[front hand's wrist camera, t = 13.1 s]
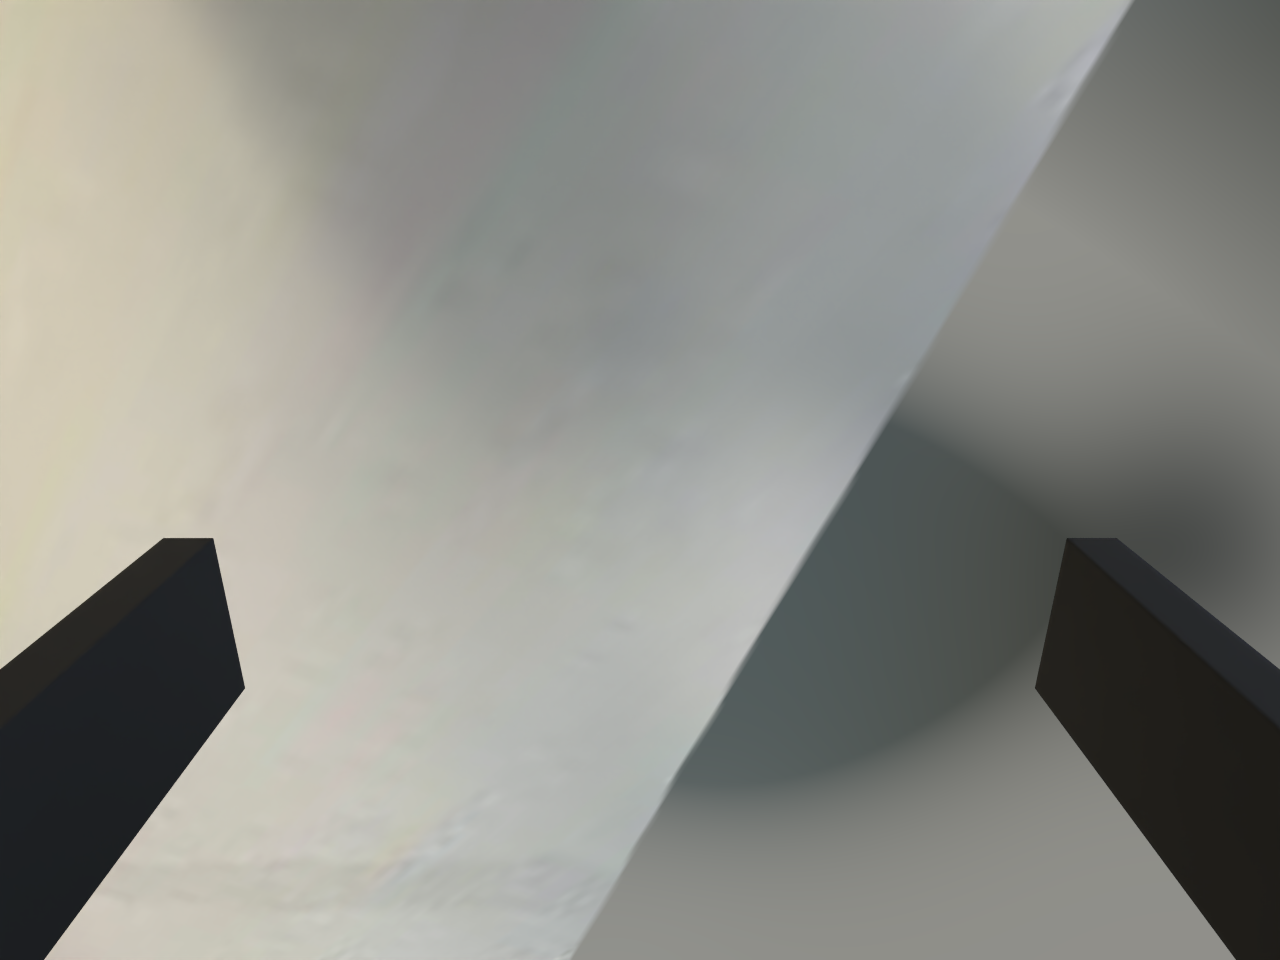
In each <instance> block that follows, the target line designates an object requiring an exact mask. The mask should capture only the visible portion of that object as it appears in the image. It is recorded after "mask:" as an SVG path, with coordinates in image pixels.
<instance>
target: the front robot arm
mask: <svg viewBox="0 0 1280 960" xmlns="http://www.w3.org/2000/svg"><path fill="white" fill-rule="evenodd" d="M244 689H245V686H244V681H243V676H242V672H241V667H240V662H239V657H238V653H237V648H236V643H235V639H234V634H233V629H232V624H231V620H230V615H229V610H228V606H227V601H226V596H225V591H224V587H223V582H222V577H221V573H220V568H219V563H218V558H217V554H216V549H215V544H214V540H213V538H163V539H162V540H161V541H159V542H158V543H157V544H156V545H154V546H153V547H152V548H151V549H149V550H148V551H147V552H146V553H144V554H143V555H142V556H141V557H139V558H138V559H137V560H136V561H134V562H133V563H132V564H131V565H129V566H128V567H127V568H126V569H125V570H123V571H122V572H121V573H120V574H118V575H117V576H116V577H115V578H113V579H112V580H111V581H110V582H108V583H107V584H106V585H105V586H103V587H102V588H101V589H100V590H98V591H97V592H96V593H95V594H93V595H92V596H91V597H90V598H89V599H87V600H86V601H85V602H84V603H82V604H81V605H80V606H79V607H77V608H76V609H75V610H74V611H72V612H71V613H70V614H69V615H67V616H66V617H65V618H64V619H62V620H61V621H60V622H59V623H57V624H56V625H55V626H54V627H52V628H51V629H50V630H49V631H48V632H46V633H45V634H44V635H43V636H41V637H40V638H39V639H38V640H36V641H35V642H34V643H33V644H31V645H30V646H29V647H28V648H26V649H25V650H24V651H23V652H21V653H20V654H19V655H18V656H16V657H15V658H14V659H13V660H11V661H10V662H9V663H8V664H7V665H5V666H4V667H3V668H2V669H0V960H44V959H45V958H46V956H47V955H48V954H49V952H50V951H51V950H52V948H53V947H54V945H55V944H56V943H57V941H58V940H59V939H60V937H61V936H62V935H63V933H64V932H65V931H66V929H67V928H68V927H69V925H70V924H71V923H72V921H73V920H74V918H75V917H76V916H77V914H78V913H79V912H80V910H81V909H82V908H83V906H84V905H85V904H86V902H87V901H88V900H89V898H90V897H91V895H92V894H93V893H94V891H95V890H96V889H97V887H98V886H99V885H100V883H101V882H102V881H103V879H104V878H105V877H106V875H107V874H108V873H109V871H110V870H111V868H112V867H113V866H114V864H115V863H116V862H117V860H118V859H119V858H120V856H121V855H122V854H123V852H124V851H125V850H126V848H127V847H128V846H129V844H130V843H131V841H132V840H133V839H134V837H135V836H136V835H137V833H138V832H139V831H140V829H141V828H142V827H143V825H144V824H145V823H146V821H147V820H148V818H149V817H150V816H151V814H152V813H153V812H154V810H155V809H156V808H157V806H158V805H159V804H160V802H161V801H162V800H163V798H164V797H165V796H166V794H167V793H168V791H169V790H170V789H171V787H172V786H173V785H174V783H175V782H176V781H177V779H178V778H179V777H180V775H181V774H182V773H183V771H184V770H185V769H186V767H187V766H188V764H189V763H190V762H191V760H192V759H193V758H194V756H195V755H196V754H197V752H198V751H199V750H200V748H201V747H202V746H203V744H204V743H205V742H206V740H207V739H208V737H209V736H210V735H211V733H212V732H213V731H214V729H215V728H216V727H217V725H218V724H219V723H220V721H221V720H222V719H223V717H224V716H225V714H226V713H227V712H228V710H229V709H230V708H231V706H232V705H233V704H234V702H235V701H236V700H237V698H238V697H239V696H240V694H241V693H242V692H243V690H244ZM1035 689H1036V690H1037V692H1038V693H1039V694H1040V696H1041V697H1042V698H1043V700H1044V701H1045V702H1046V704H1047V705H1048V706H1049V708H1050V709H1051V710H1052V712H1053V713H1054V714H1055V716H1056V717H1057V719H1058V720H1059V721H1060V723H1061V724H1062V725H1063V727H1064V728H1065V729H1066V731H1067V732H1068V733H1069V735H1070V736H1071V737H1072V739H1073V740H1074V741H1075V743H1076V744H1077V746H1078V747H1079V748H1080V750H1081V751H1082V752H1083V754H1084V755H1085V756H1086V758H1087V759H1088V760H1089V762H1090V763H1091V764H1092V766H1093V767H1094V768H1095V770H1096V771H1097V773H1098V774H1099V775H1100V777H1101V778H1102V779H1103V781H1104V782H1105V783H1106V785H1107V786H1108V787H1109V789H1110V790H1111V791H1112V793H1113V794H1114V796H1115V797H1116V798H1117V800H1118V801H1119V802H1120V804H1121V805H1122V806H1123V808H1124V809H1125V810H1126V812H1127V813H1128V814H1129V816H1130V817H1131V818H1132V820H1133V821H1134V823H1135V824H1136V825H1137V827H1138V828H1139V829H1140V831H1141V832H1142V833H1143V835H1144V836H1145V837H1146V839H1147V840H1148V841H1149V843H1150V844H1151V846H1152V847H1153V848H1154V850H1155V851H1156V852H1157V854H1158V855H1159V856H1160V858H1161V859H1162V860H1163V862H1164V863H1165V864H1166V866H1167V867H1168V868H1169V870H1170V871H1171V873H1172V874H1173V875H1174V877H1175V878H1176V879H1177V881H1178V882H1179V883H1180V885H1181V886H1182V887H1183V889H1184V890H1185V891H1186V893H1187V894H1188V895H1189V897H1190V898H1191V899H1192V901H1193V902H1194V904H1195V905H1196V906H1197V908H1198V909H1199V910H1200V912H1201V913H1202V914H1203V916H1204V917H1205V918H1206V920H1207V921H1208V923H1209V924H1210V925H1211V927H1212V928H1213V929H1214V931H1215V932H1216V933H1217V935H1218V936H1219V937H1220V939H1221V940H1222V941H1223V943H1224V944H1225V945H1226V947H1227V948H1228V949H1229V951H1230V952H1231V954H1232V955H1233V956H1234V958H1235V959H1236V960H1280V669H1278V668H1277V667H1276V666H1275V665H1273V664H1272V663H1271V662H1270V661H1269V660H1267V659H1266V658H1265V657H1263V656H1262V655H1261V654H1260V653H1259V652H1257V651H1256V650H1255V649H1254V648H1252V647H1251V646H1250V645H1249V644H1247V643H1246V642H1245V641H1244V640H1242V639H1241V638H1240V637H1239V636H1237V635H1236V634H1235V633H1234V632H1232V631H1231V630H1230V629H1229V628H1228V627H1226V626H1225V625H1224V624H1223V623H1221V622H1220V621H1219V620H1218V619H1216V618H1215V617H1214V616H1213V615H1211V614H1210V613H1209V612H1208V611H1206V610H1205V609H1204V608H1203V607H1201V606H1200V605H1199V604H1198V603H1196V602H1195V601H1194V600H1193V599H1191V598H1190V597H1189V596H1188V595H1187V594H1185V593H1184V592H1183V591H1182V590H1180V589H1179V588H1178V587H1177V586H1175V585H1174V584H1173V583H1172V582H1170V581H1169V580H1168V579H1166V578H1165V577H1164V576H1163V575H1162V574H1160V573H1159V572H1158V571H1157V570H1155V569H1154V568H1153V567H1152V566H1150V565H1149V564H1148V563H1147V562H1146V561H1144V560H1143V559H1142V558H1141V557H1139V556H1138V555H1137V554H1136V553H1134V552H1133V551H1132V550H1131V549H1129V548H1128V547H1127V546H1126V545H1124V544H1123V543H1122V542H1121V541H1119V540H1118V539H1117V538H1067V540H1066V544H1065V549H1064V554H1063V559H1062V563H1061V568H1060V573H1059V577H1058V582H1057V587H1056V592H1055V596H1054V601H1053V606H1052V610H1051V615H1050V620H1049V625H1048V629H1047V634H1046V639H1045V643H1044V648H1043V653H1042V657H1041V662H1040V667H1039V672H1038V676H1037V681H1036V686H1035Z"/></svg>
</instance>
